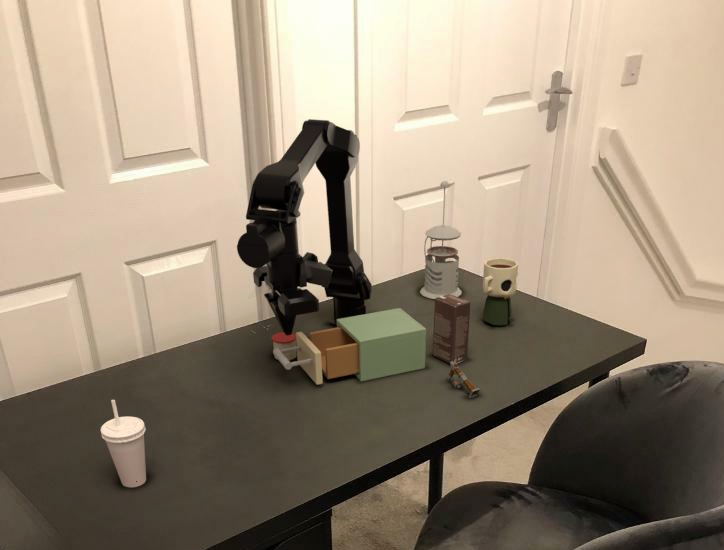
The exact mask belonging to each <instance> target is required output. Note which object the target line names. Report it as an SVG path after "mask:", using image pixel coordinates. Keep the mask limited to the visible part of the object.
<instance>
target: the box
mask: <svg viewBox="0 0 724 550" xmlns="http://www.w3.org/2000/svg"><path fill="white" fill-rule="evenodd" d="M471 302H472V301H469V300H468V299H464V298H461V297H460V296H458V297H456V296H454V295H451V294H448V295H444V296H440V297H437V298H435V299H434V311H433V312H434V313H433V334H432V336H433V338H432V357H434V358H437V359H439V360H442V361H443V362H446V363H448V364H450V362H451V361H453V362H456V363H457V364H461V363H463V362H464V361H467V359H468V348H469V335H470V319H471V317H470V316H471V305H472V303H471Z"/></svg>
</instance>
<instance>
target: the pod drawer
mask: <svg viewBox="0 0 724 550" xmlns="http://www.w3.org/2000/svg"><path fill="white" fill-rule="evenodd" d="M295 335H296V347H293V348H288V349H283V350H279V349H278V348H275V349H274V348H273V349H272V354H273V356H274V355H275V356H276V358H277V359H276V358H275V359H276V360H278V361H279V362H280V364H281V365H282V367H283V368H284V369H285V370H287V371H289V370H291V369H292V368H293V367H296V366H300V367H301V368H302V370H303V371H304V372H305V373H306V374H307V375H308V376H309V378H310V379H311V380H312V381H313V382H314V383H315V385H322V384H323V383H324V381H323V375H324V376H325V378H326V379H327V380H330V379H335V378H340V377H345V376H351V375H354V374H355V373H359V344H358V343H357V342H356V341H355V340H354V339H353V338H352V337H351V336H350V335H349V334H348V333H347V332H345V331H344V330H343V329H342V328H341V327H337V326H336V327H333V328H327V329H322V330H316V331H310V332H309V338H308V337H307V336H306V335H305V333H304V332H303V331H297V332H295ZM294 351H296V354H297V356H296V358H297V361H292V362H291V360H288V359H287V358H286V357H285V355H284V354H283V353H289V352H294ZM275 356H274V357H275Z"/></svg>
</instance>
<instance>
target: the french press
mask: <svg viewBox="0 0 724 550" xmlns="http://www.w3.org/2000/svg"><path fill="white" fill-rule="evenodd" d="M439 185H440V186H439V187H440V188H443V207H442V208H443V213H442V224H439V225H434V226H432V227H430V228H429V229H428V230H427V229H426V231H425V232H424V235H425V236H426V237H425V240H424V247H423V249H424V250H423V252H424V262H425V265H424V269H425V270H424V274H425V276H424V286H423V287H422V288H421V289H420V291H419V293H420V294H421V296H423V297H425V298H427V299H432V300H435V298H437V297H440V296H444V295H448V294H451V295H454V296H456V297H460V296H461V295H462V293H463V292H462V290H461V289H460V288H459V267H460V266H459V265H460V257H459V255H458V253H459V250H458V249H457V248H456V247H453V246H449V245H448V246H446V245H444V241H453V240H457V239H459V238H460V237H462V236H461V235H462V232H461V231H459V230H458V229H457V228H456V227H453V226H451V225H445V207H446V206H445V205H446V204H445V203H446V188H449V187H450V183H449V182H448V181H447V180H443V181H441V182H440V184H439ZM428 238H429V239H430V246H429V248H427V249H426V244H427V240H428ZM436 241H441V245H436V246H435V245H434V246H432V244H433V242H436ZM448 259H453V260H448ZM446 260H447V261H446Z"/></svg>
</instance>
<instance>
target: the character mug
mask: <svg viewBox="0 0 724 550" xmlns="http://www.w3.org/2000/svg"><path fill="white" fill-rule="evenodd" d="M518 271H519V262H518V261H516V260H514V259H512V258H507V257H493V258H488V259H485V261H484V265H483V275H482V293H484V294H485V295H487V296H486V298H485V302H484V306H483V311H482V320H483V321H484V322H486V323H488V324H491V325H493V326H505V325H508V320H509V323H512V316H513V315H512V299H511V297H512V296H514V295H515V293H516V292H517V278H518Z"/></svg>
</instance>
